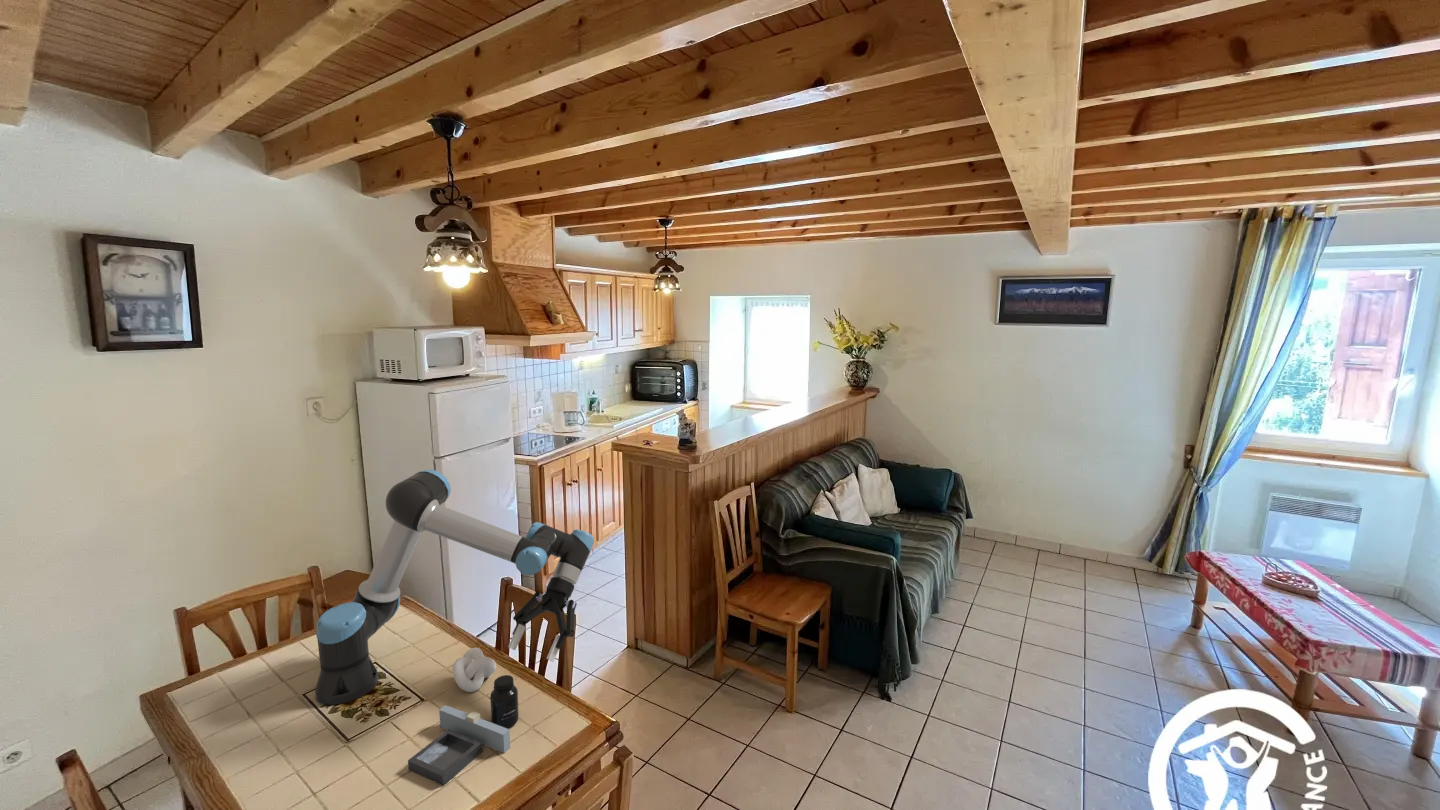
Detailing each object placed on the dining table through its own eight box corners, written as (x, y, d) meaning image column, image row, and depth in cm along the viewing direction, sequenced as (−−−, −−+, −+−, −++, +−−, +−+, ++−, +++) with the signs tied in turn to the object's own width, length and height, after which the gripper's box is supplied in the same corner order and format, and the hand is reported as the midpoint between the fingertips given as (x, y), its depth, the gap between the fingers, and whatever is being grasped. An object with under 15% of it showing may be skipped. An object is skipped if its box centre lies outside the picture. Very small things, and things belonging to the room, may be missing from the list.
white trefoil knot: (498, 667, 173) (496, 640, 172) (495, 691, 162) (494, 663, 160) (457, 674, 169) (456, 647, 168) (452, 699, 158) (450, 670, 157)
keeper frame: (408, 769, 133) (407, 760, 133) (449, 737, 144) (448, 728, 143) (443, 785, 129) (442, 776, 128) (482, 751, 139) (482, 742, 139)
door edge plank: (440, 727, 147) (438, 705, 146) (446, 722, 149) (445, 700, 148) (504, 753, 138) (502, 730, 138) (510, 747, 140) (509, 725, 139)
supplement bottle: (509, 732, 145) (507, 690, 144) (486, 728, 147) (483, 686, 145) (524, 715, 152) (522, 674, 150) (501, 711, 153) (499, 671, 152)
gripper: (603, 593, 166) (573, 668, 154) (537, 578, 175) (503, 647, 164) (592, 584, 160) (559, 661, 149) (524, 568, 170) (488, 640, 158)
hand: (530, 654), depth 156 cm, fingers open, 13 cm apart
